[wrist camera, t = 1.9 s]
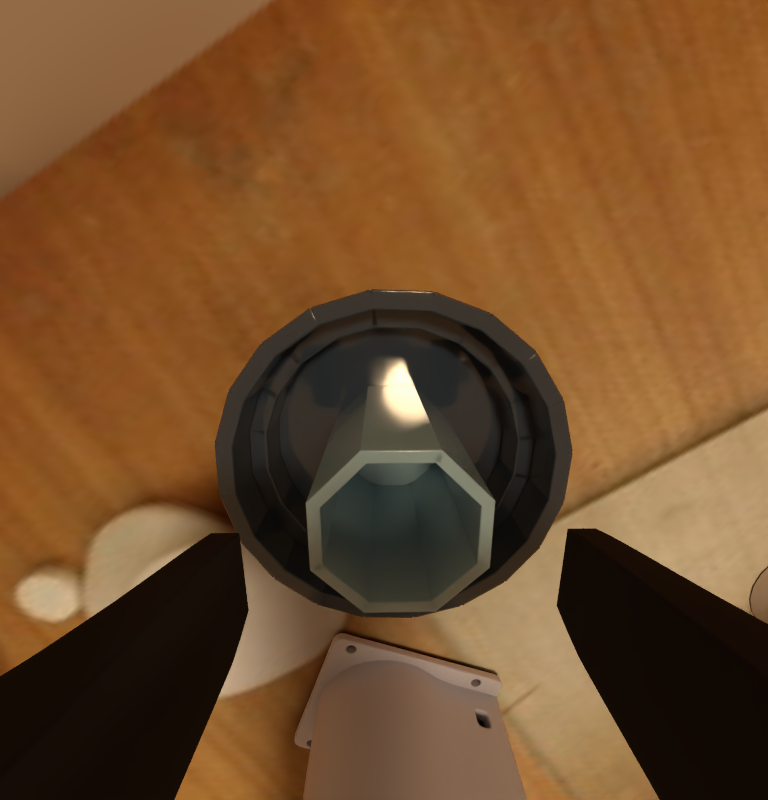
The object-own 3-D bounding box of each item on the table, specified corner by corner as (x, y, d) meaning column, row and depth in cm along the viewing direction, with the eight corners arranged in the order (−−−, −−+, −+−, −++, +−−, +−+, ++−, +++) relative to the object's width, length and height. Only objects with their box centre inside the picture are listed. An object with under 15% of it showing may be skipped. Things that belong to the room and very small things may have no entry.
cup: (446, 385, 15) (500, 449, 9) (442, 486, 17) (486, 611, 10) (335, 386, 15) (301, 451, 9) (339, 487, 17) (312, 614, 10)
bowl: (573, 352, 16) (637, 368, 12) (462, 579, 19) (484, 651, 15) (298, 248, 14) (269, 228, 11) (225, 508, 17) (181, 567, 13)
